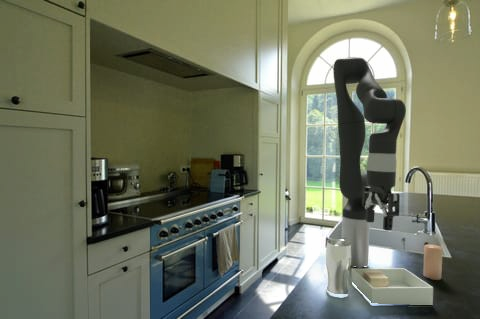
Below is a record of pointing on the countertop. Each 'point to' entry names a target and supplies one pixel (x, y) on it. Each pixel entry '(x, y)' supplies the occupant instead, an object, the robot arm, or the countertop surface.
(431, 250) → the terracotta cylinder
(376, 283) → the beech cube
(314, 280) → the countertop surface
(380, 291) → the grey tote
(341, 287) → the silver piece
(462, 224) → the countertop surface
